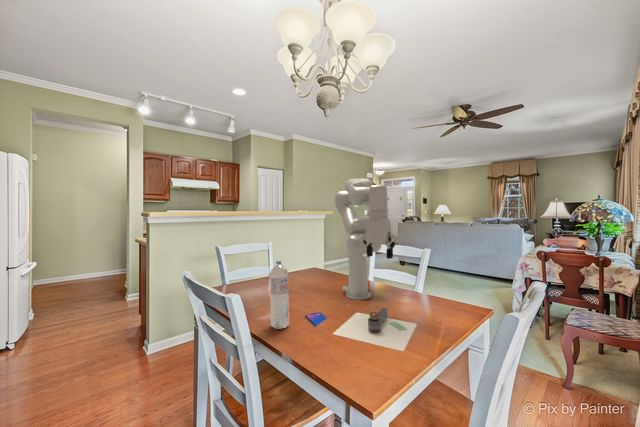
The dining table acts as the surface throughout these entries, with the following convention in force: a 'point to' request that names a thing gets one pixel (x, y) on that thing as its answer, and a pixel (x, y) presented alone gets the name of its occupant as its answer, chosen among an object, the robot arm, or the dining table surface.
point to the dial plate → (390, 335)
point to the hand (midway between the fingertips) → (379, 257)
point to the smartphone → (316, 318)
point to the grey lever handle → (377, 320)
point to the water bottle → (279, 296)
